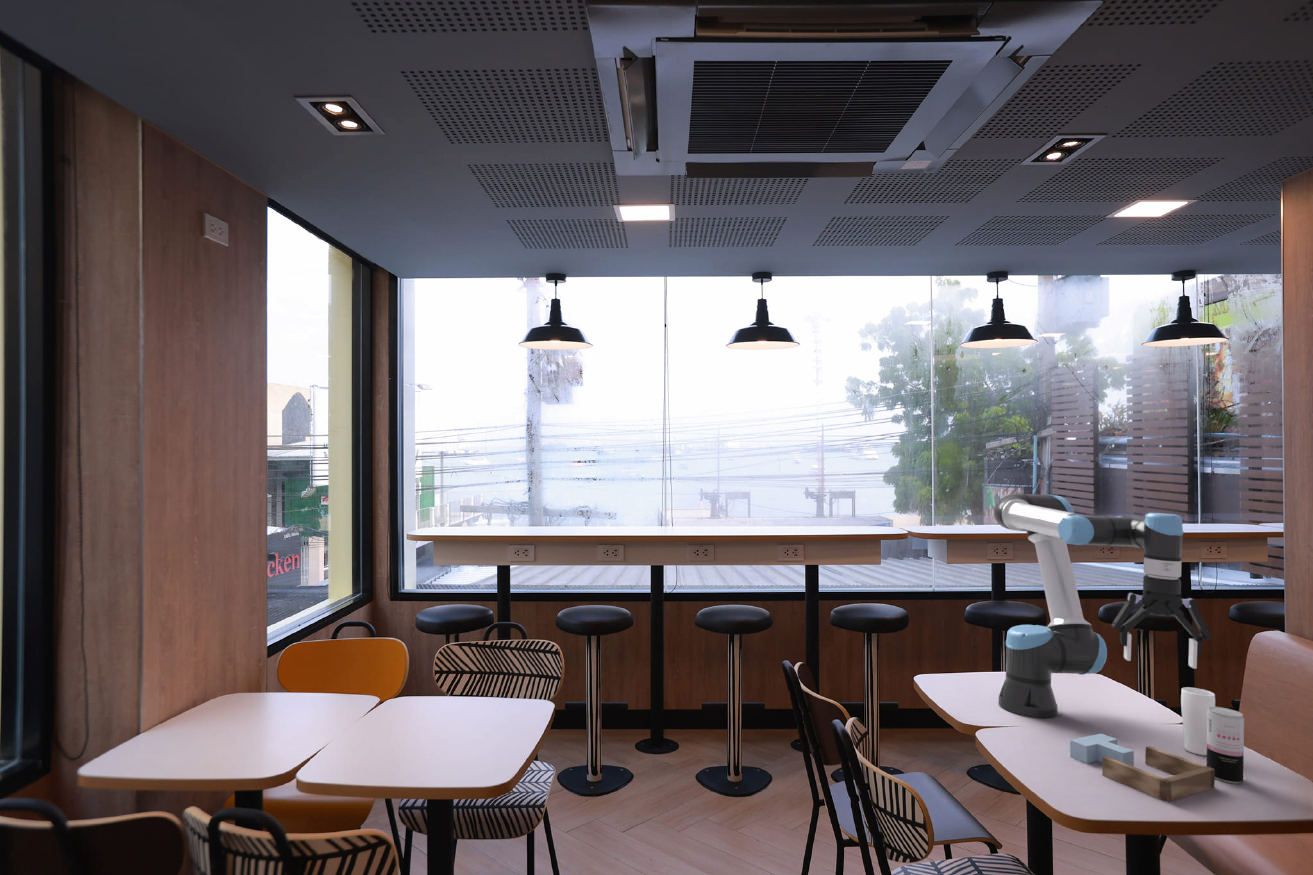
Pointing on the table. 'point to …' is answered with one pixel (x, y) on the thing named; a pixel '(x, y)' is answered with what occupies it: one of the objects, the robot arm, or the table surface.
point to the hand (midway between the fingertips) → (1159, 663)
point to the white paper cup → (1195, 718)
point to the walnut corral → (1182, 784)
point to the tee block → (1100, 749)
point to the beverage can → (1225, 744)
